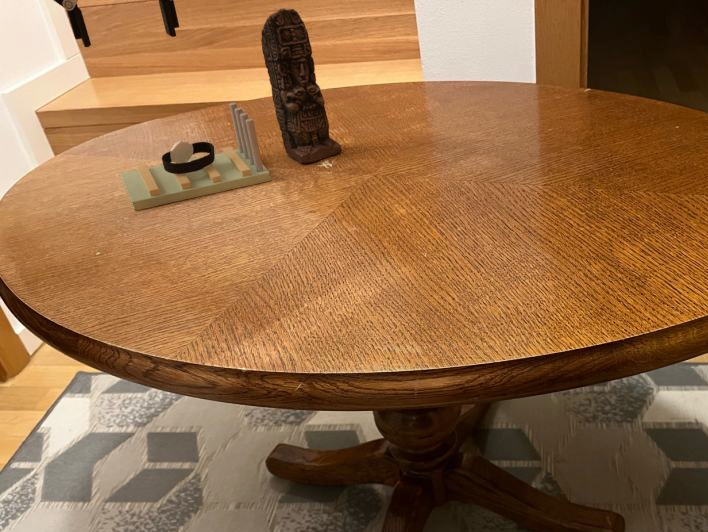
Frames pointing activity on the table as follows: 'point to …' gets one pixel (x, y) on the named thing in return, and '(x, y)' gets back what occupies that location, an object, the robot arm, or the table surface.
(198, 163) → the watch
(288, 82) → the statue
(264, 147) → the table surface
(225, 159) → the rack
